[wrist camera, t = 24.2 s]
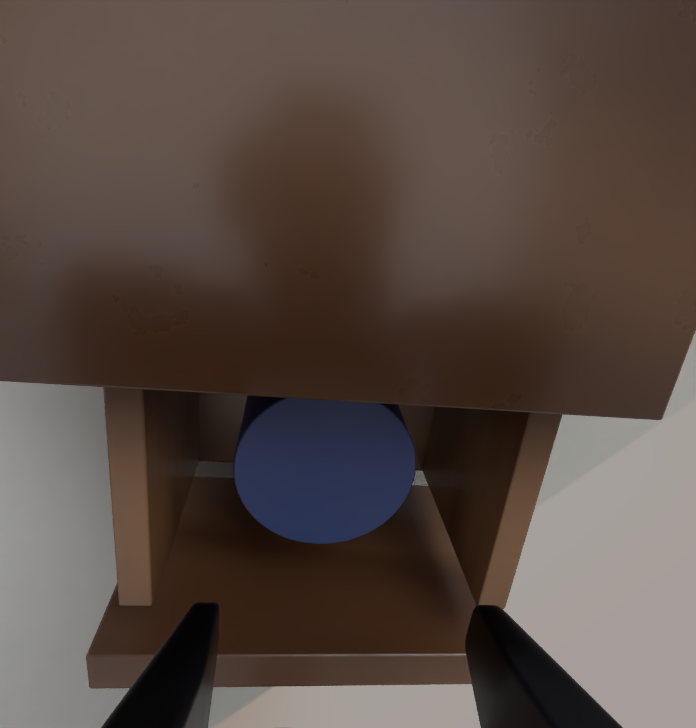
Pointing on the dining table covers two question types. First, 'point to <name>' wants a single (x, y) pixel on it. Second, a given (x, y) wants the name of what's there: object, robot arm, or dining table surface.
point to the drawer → (311, 550)
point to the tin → (322, 466)
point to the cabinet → (352, 199)
